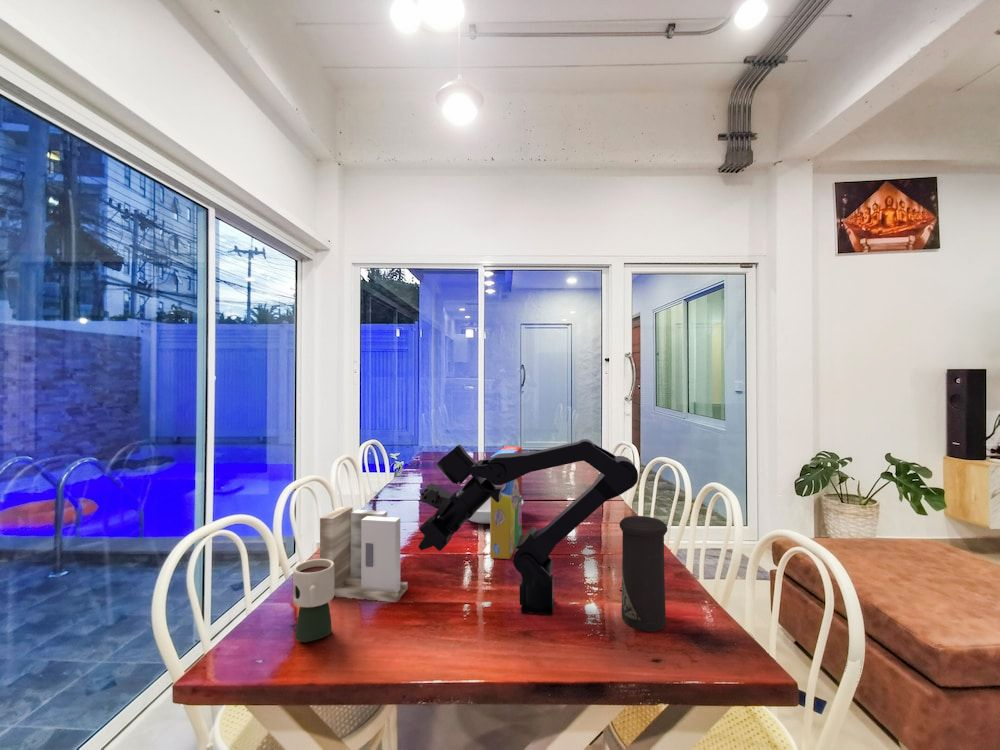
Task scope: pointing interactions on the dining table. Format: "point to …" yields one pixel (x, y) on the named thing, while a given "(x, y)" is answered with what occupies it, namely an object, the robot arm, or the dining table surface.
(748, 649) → the dining table surface
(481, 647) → the dining table surface
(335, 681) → the dining table surface
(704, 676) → the dining table surface
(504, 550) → the game box
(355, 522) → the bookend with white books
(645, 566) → the container
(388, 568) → the door
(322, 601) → the character mug
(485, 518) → the soup bowl
